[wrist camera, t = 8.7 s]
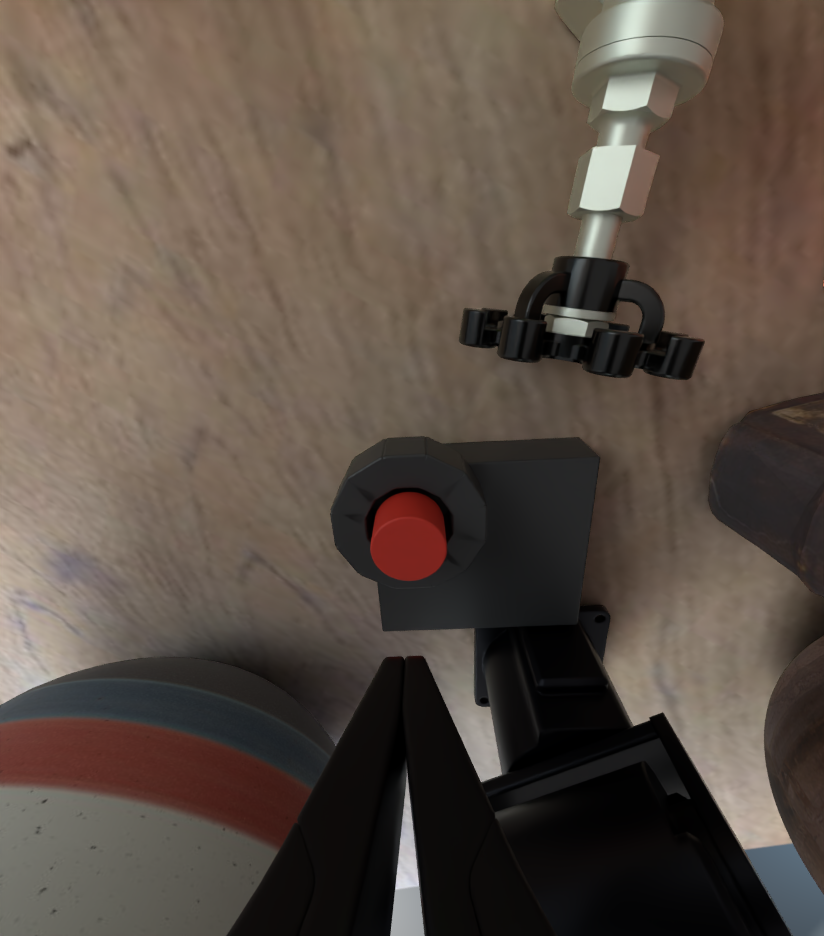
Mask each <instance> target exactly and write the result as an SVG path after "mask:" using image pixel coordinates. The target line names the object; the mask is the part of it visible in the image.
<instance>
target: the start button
mask: <svg viewBox="0 0 824 936" xmlns="http://www.w3.org/2000/svg"><path fill="white" fill-rule="evenodd" d="M370 551H371V556H372V559H373V561H374V563H375V564H376V566H377V567H378V568H379V569H380V570H381V571H382V572H383V573H385V574H386V575H388V576H390V577H392V578H395V579H398V580H403V581H415V580H420V579H423V578H426V577H428V576H430V575H432V574H433V573H435V572H436V571H437V570H438V569H439V568H440V567H441V565H442V564H443V562H444V560H445V558H446V554H447V542H446V533H445V525H444V517H443V513H442V511H441V509H440V507H439V506H438V505H437V503H436V502H435V501H434V500H432V499H431V498H429V497H428V496H426V495H423V494H421V493H417V492H402V493H398V494H395V495H393V496H391V497H389V498H388V499H386V500H385V501H384V502H383V503H382V504H381V505H380V507H379V508H378V510H377V513H376V516H375V522H374V527H373V533H372V539H371V545H370Z"/></svg>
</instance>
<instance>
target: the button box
mask: <svg viewBox="0 0 824 936" xmlns="http://www.w3.org/2000/svg"><path fill="white" fill-rule="evenodd" d="M599 462H600V457H599V456H598V455H597V454H596V453H595V452H594V451H593V450H592V449H591V448H590V447H589V446H588V445H587V444H586V443H584V442H583V441H582V440H581V439H580V438H579V437H573V438H553V439H532V440H512V441H492V442H471V443H451V444H441V443H439V442H437V441H435V440H433V439H431V438H429V437H424V436H420V437H399V438H387V439H383V440H382V441H380V442H379V443H377V444H375V445H374V446H372V447H371V448H369V449H367V450H366V451H364V452H363V453H361V454H359V455H358V456H356V457H355V458H354V459H353V460H352V462H351V464H350V466H349V468H348V470H347V472H346V474H345V477H344V479H343V481H342V483H341V485H340V487H339V489H338V492H337V494H336V497H335V500H334V502H333V505H332V508H331V513H330V515H331V522H332V528H333V535H334V541H335V545H336V547H337V549H338V550H339V552H340V553H341V554H342V555H343V556H344V557H345V559H346V560H347V561H348V562H349V563H350V564H351V566H352V567H353V568H354V569H355V570H356V571H357V572H358V573H359V574H360V575H362V576H364V577H366V578H369V579H371V580H374V581H376V582H377V584H378V593H379V602H380V611H381V620H382V629H383V631H410V630H438V629H466V628H495V627H523V626H552V625H576V624H577V622H578V615H579V608H580V601H581V593H582V586H583V579H584V571H585V564H586V557H587V550H588V542H589V535H590V528H591V520H592V513H593V506H594V499H595V491H596V484H597V477H598V469H599ZM402 492H417V493H421V494H423V495H426V496H428V497H429V498H431V499H432V500H434V501H435V502H436V503H437V505H438V506H439V507H440V509H441V511H442V513H443V517H444V525H445V533H446V542H447V554H446V558H445V560H444V562H443V564H442V565H441V567H440V568H439V569H438V570H437V571H436V572H435V573H433V574H432V575H430V576H428V577H426V578H423V579H420V580H415V581H403V580H398V579H395V578H392V577H390V576H388V575H386V574H385V573H383V572H382V571H381V570H380V569H379V568H378V567H377V566H376V564H375V563H374V561H373V559H372V556H371V551H370V545H371V539H372V533H373V527H374V522H375V516H376V513H377V510H378V508H379V507H380V505H381V504H382V503H383V502H384V501H385V500H386V499H388V498H389V497H391V496H393V495H395V494H398V493H402Z"/></svg>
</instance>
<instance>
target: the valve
mask: <svg viewBox="0 0 824 936" xmlns="http://www.w3.org/2000/svg"><path fill="white" fill-rule="evenodd" d="M714 2H715V0H556V2H555V10H556V12H557V13H558V15H559V16H560V18H561V19H562V20H563V22H564V23H565V24H566V26H567V27H568V28H569V29H570V31H571V32H572V33H573V34H574V35H575V37H576V38H577V39H578V40H579V41H580V46H579V51H578V56H577V61H576V66H575V71H574V76H573V81H572V87H571V90H572V94H573V96H574V97H575V99H576V100H577V101H578V102H580V103H581V104H583V105H585V106H586V107H589V108H590V111H589V116H588V120H587V124H588V125H589V126H590V127H591V128H592V129H594V130H595V131H597V132H599V136H598V140H597V145H596V147H592V148H591V149H590V150H589V151H587V152H586V153H585V154H583V155H582V156H581V157H580V158H579V160H578V165H577V169H576V174H575V178H574V183H573V187H572V192H571V196H570V201H569V205H568V210H567V214H569V215H570V216H571V217H573V218H576V219H579V220H582V222H581V227H580V231H579V235H578V239H577V243H576V248H575V252H574V256H560V257H556V258H555V259H554V262H553V267H552V271H546V272H542V273H540V274H538V275H537V276H535V277H534V278H533V279H532V280H531V281H529V283H528V284H527V285H526V286H525V288H524V289H523V291H522V293H521V295H520V297H519V299H518V302H517V305H516V309H515V314H514V316H507V314H508V311H506V310H499V309H490V308H482V309H473V308H464V310H463V316H462V323H461V330H460V336H459V342H460V343H461V344H463V345H466V346H471V347H478V348H495V347H496V346H498V351H497V354H498V356H499V357H501V358H504V359H508V360H512V361H518V362H527V363H537V362H540V361H541V359H542V358H552V359H558V360H565V361H571V362H576V363H580V364H583V365H582V368H583V370H585V371H587V372H590V373H593V374H597V375H602V376H608V377H615V378H628V377H630V376H631V375H632V373H633V370H634V368H639V369H643V371H644V372H645V373H647V374H650V375H654V376H658V377H663V378H669V379H676V380H688V379H690V378H691V377H692V374H693V372H694V369H695V367H696V364H697V361H698V359H699V356H700V354H701V351H702V348H703V346H704V343H705V341H704V340H703V339H700V338H694V337H689V336H688V335H687V334H682V333H676V332H669V331H662V328H663V325H664V320H665V310H664V305H663V302H662V300H661V298H660V296H659V295H658V294H657V292H656V291H655V290H654V289H653V288H652V287H650V286H649V285H647V284H645V283H643V282H640V281H636V280H629V279H626V277H627V274H628V270H629V267H630V266H629V264H628V263H626V262H622V261H618V260H612V255H613V252H614V248H615V244H616V241H617V237H618V233H619V230H620V226H621V223H623V222H630V221H634V220H636V219H638V218H639V217H641V216H642V215H643V212H644V209H645V205H646V202H647V198H648V195H649V191H650V188H651V185H652V181H653V178H654V174H655V171H656V167H657V164H658V160H659V157H660V156H659V155H657V154H655V153H653V152H650V151H648V150H646V149H645V147H646V143H647V140H648V136H649V133H650V132H653V131H655V130H657V129H659V128H660V127H662V126H663V125H664V124H665V123H666V122H667V121H668V120H669V119H670V118H671V115H672V111H673V108H674V107H675V106H677V105H680V104H682V103H685V102H687V101H688V100H690V99H692V98H694V97H695V96H696V95H697V94H699V93H700V92H701V91H702V90H703V88H704V87H705V85H706V84H707V81H708V78H709V75H710V71H711V67H712V64H713V61H714V58H715V55H716V52H717V49H718V45H719V42H720V38H721V35H722V32H723V28H724V19H723V17H722V14H721V12H720V10H719V9H718V8H716V7H715V6H714ZM619 301H623V302H632V303H635V304H636V305H638V306H639V307H640V309H641V311H642V322H641V325H640V328H639V331H638V333H636V332H629V328H630V326H629V325H624V324H617V323H609V322H604V321H614V319H615V315H616V312H617V308H618V305H619ZM544 304H546V305H544ZM543 305H544V307H543ZM542 309H543V311H542ZM601 311H603V312H601ZM542 312H543V313H546V314H541V313H542ZM609 312H612V313H609ZM599 320H602V321H599Z"/></svg>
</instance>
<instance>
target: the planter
mask: <svg viewBox="0 0 824 936" xmlns="http://www.w3.org/2000/svg"><path fill="white" fill-rule="evenodd" d="M335 748H336V746H335V744H334V742H333V741H332V739H331V738H330V737H329V735H328V734H327V733H326V731H325V730H324V729H323V728H322V726H321V725H320V724H319V723H318V721H317V720H316V719H315V718H314V717H313V716H312V715H311V714H310V713H309V712H308V711H307V710H306V709H305V708H304V707H303V706H302V705H301V704H300V703H299V702H297V701H296V700H295V699H294V698H293V697H292V696H290V695H289V694H288V693H286V692H285V691H284V690H282V689H281V688H279V687H278V686H276V685H274V684H273V683H271V682H269V681H267V680H265V679H264V678H262V677H260V676H258V675H255V674H253V673H251V672H249V671H246V670H243V669H241V668H238V667H235V666H231V665H228V664H224V663H220V662H215V661H209V660H203V659H196V658H185V657H157V658H141V659H134V660H127V661H121V662H115V663H109V664H104V665H100V666H96V667H92V668H89V669H85V670H81V671H78V672H74V673H71V674H68V675H65V676H62V677H60V678H57V679H55V680H52V681H50V682H47V683H45V684H42V685H40V686H37V687H35V688H32V689H30V690H28V691H26V692H24V693H22V694H20V695H18V696H16V697H15V698H13V699H11V700H9V701H7V702H5V703H4V704H2V705H0V936H226V935H227V934H228V932H229V931H230V929H231V928H232V926H233V925H234V923H235V921H236V920H237V918H238V917H239V915H240V914H241V912H242V911H243V909H244V907H245V906H246V904H247V903H248V901H249V900H250V898H251V896H252V895H253V893H254V892H255V890H256V889H257V887H258V885H259V884H260V882H261V881H262V879H263V877H264V875H265V874H266V872H267V870H268V868H269V867H270V865H271V863H272V862H273V860H274V858H275V856H276V855H277V853H278V851H279V849H280V848H281V846H282V844H283V842H284V840H285V839H286V837H287V835H288V833H289V831H290V829H291V828H292V826H293V824H294V823H298V822H297V817H298V815H299V813H300V812H301V810H302V808H303V806H304V804H305V802H306V801H307V799H308V797H309V795H310V793H311V792H312V790H313V788H314V786H315V784H316V782H317V781H318V779H319V777H320V775H321V773H322V771H323V770H324V768H325V766H326V764H327V762H328V760H329V759H330V757H331V755H332V753H333V751H334V750H335Z"/></svg>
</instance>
